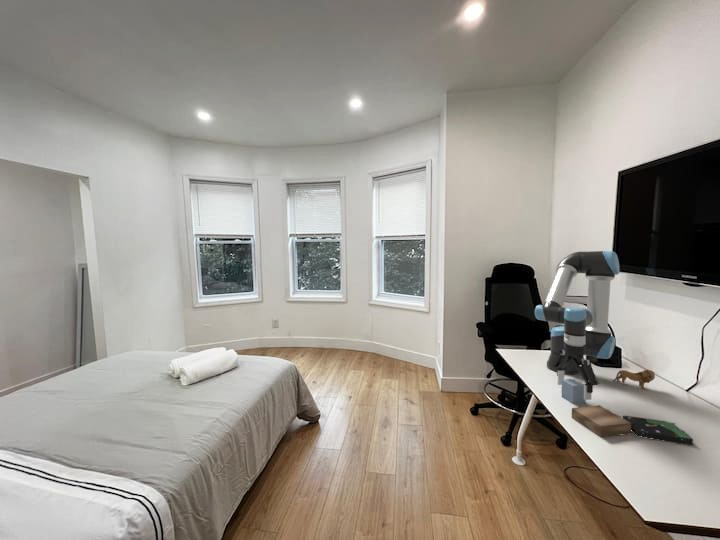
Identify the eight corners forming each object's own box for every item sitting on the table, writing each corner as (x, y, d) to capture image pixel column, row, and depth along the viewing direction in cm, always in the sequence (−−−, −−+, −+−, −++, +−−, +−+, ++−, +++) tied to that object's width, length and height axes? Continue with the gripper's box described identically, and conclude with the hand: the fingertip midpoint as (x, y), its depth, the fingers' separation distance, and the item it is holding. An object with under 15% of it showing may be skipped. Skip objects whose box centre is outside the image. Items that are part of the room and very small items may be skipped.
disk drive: (637, 438, 101) (693, 447, 95) (637, 431, 100) (694, 438, 95) (621, 422, 110) (672, 428, 105) (622, 414, 110) (672, 421, 105)
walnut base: (571, 417, 113) (571, 407, 112) (599, 415, 114) (599, 405, 114) (600, 437, 101) (600, 426, 101) (630, 433, 102) (631, 423, 102)
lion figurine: (652, 387, 135) (653, 368, 135) (655, 392, 131) (656, 372, 130) (611, 380, 144) (612, 362, 143) (613, 384, 139) (613, 366, 139)
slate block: (561, 397, 129) (561, 379, 128) (573, 396, 129) (574, 378, 129) (572, 404, 123) (573, 385, 122) (585, 402, 123) (586, 384, 123)
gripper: (544, 336, 136) (544, 379, 138) (593, 354, 112) (591, 407, 113) (559, 335, 137) (558, 378, 139) (610, 353, 113) (608, 405, 114)
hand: (573, 391), depth 126 cm, fingers open, 13 cm apart
